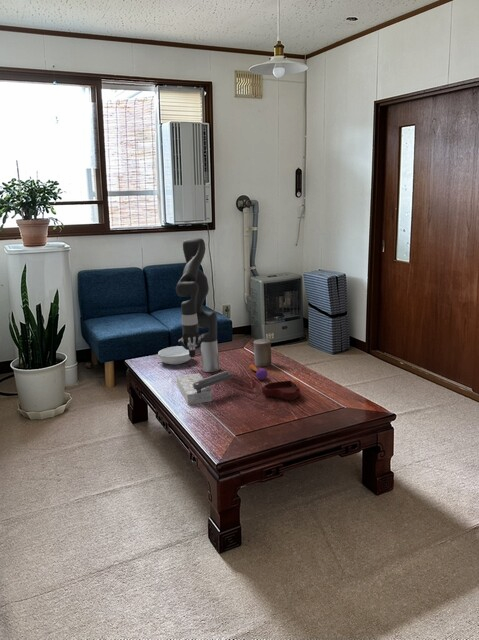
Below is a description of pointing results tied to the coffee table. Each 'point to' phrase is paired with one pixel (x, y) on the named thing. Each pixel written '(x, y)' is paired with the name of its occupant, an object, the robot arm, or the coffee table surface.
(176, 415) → the coffee table surface
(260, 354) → the pillar candle
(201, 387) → the bar
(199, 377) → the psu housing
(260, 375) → the kendama
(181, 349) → the serving bowl
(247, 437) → the coffee table surface
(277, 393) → the ashtray
